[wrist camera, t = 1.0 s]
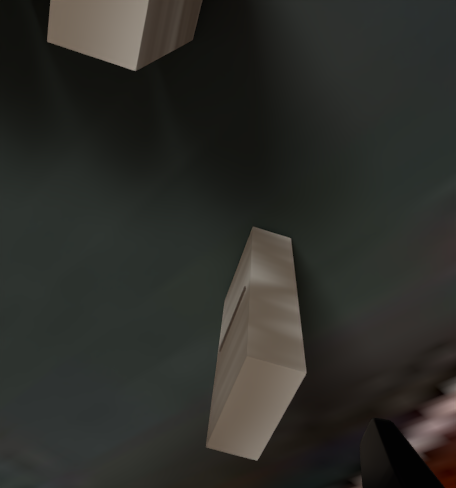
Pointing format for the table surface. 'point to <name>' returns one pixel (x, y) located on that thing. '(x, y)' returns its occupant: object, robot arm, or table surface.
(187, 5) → the domino
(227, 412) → the domino
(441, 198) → the table surface
